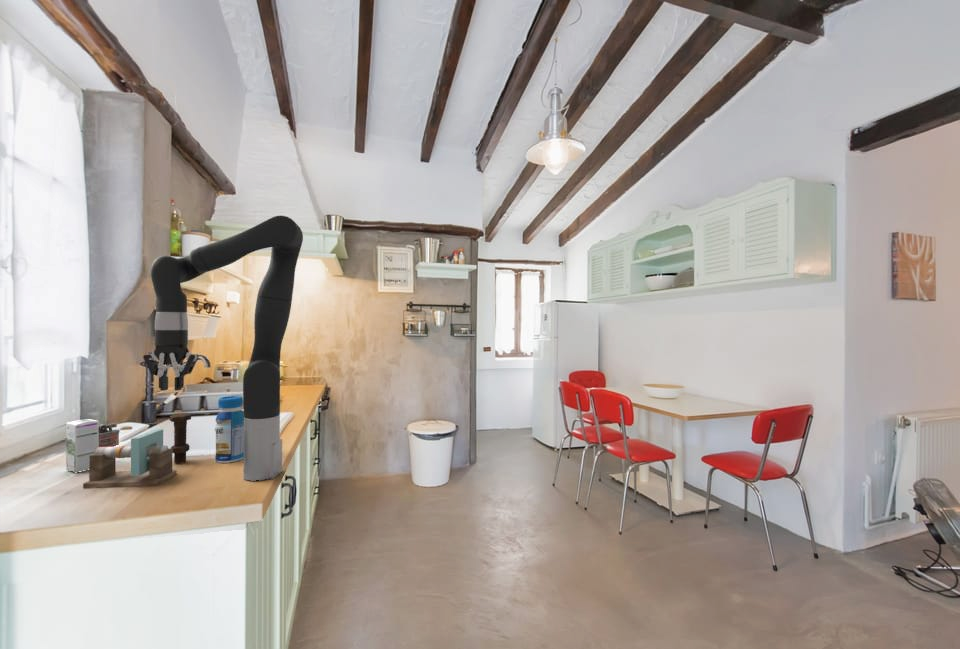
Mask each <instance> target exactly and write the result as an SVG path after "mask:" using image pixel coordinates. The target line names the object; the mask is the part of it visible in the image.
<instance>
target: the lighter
mask: <svg viewBox="0 0 960 649" xmlns="http://www.w3.org/2000/svg"><path fill="white" fill-rule="evenodd" d="M117 427H118V425H117V423H116V422H114V423H108V424H106V425H105V424H103V423H102V424H99V425H98V431H99V447H114V446H116V445H120V443H119V442H120V439H119V438H120V431H121V430H120V429H114V428H117Z"/></svg>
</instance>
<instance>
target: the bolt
mask: <svg viewBox="0 0 960 649" xmlns="http://www.w3.org/2000/svg"><path fill="white" fill-rule="evenodd" d="M191 414H192V413H184V412H183V413H176V414H172V415H170V416H169V421H170V422H171V423H173V430H174V431H173V434H174V435H173V445H172V446H170V449H172V448H173V453H172V454H173V464H177V465H179V464H184V463H185V462H187V452H189V450H190V445H189V443H187V430H188V429H187V424H188V421H190V420H192V415H191Z"/></svg>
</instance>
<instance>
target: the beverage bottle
mask: <svg viewBox="0 0 960 649" xmlns="http://www.w3.org/2000/svg"><path fill="white" fill-rule="evenodd" d="M217 402H218V404H217V405H218V407H217V408H218V409H219V410H220V411H219V412H218V413H217V415H216V417H215V422H216V425H215V426H214V431H215V457H214V458H215V462H217V463H220V464H228V463H235V462H239V461H241V460H244V410H242V408H243V396H241V395H231V396H229V395H228V396H222V397H219V398H218V400H217Z"/></svg>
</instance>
